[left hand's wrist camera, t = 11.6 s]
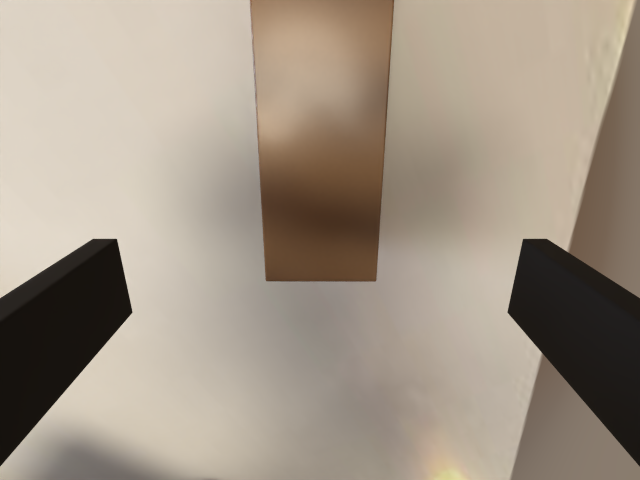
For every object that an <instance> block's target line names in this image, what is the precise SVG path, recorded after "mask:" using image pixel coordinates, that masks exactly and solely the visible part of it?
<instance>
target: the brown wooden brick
mask: <svg viewBox="0 0 640 480" xmlns="http://www.w3.org/2000/svg"><path fill="white" fill-rule="evenodd" d="M393 8H394V0H250V9H251V27H252V45H253V63H254V80H255V98H256V116H257V134H258V151H259V169H260V187H261V204H262V222H263V240H264V258H265V275H266V281H376V275H377V260H378V244H379V228H380V213H381V197H382V181H383V166H384V150H385V134H386V118H387V103H388V87H389V71H390V56H391V40H392V24H393Z"/></svg>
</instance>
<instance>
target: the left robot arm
mask: <svg viewBox="0 0 640 480" xmlns="http://www.w3.org/2000/svg"><path fill="white" fill-rule="evenodd" d="M131 314H132V308H131V303H130V299H129V294H128V289H127V284H126V280H125V275H124V270H123V266H122V261H121V256H120V251H119V247H118V242H117V239H92V240H91V241H89V242H88V243H86V244H84V245H83V246H81V247H80V248H78V249H77V250H75V251H74V252H72V253H70V254H69V255H67V256H66V257H64V258H63V259H61V260H59V261H58V262H56V263H55V264H53V265H52V266H50V267H48V268H47V269H45V270H44V271H42V272H41V273H39V274H37V275H36V276H34V277H33V278H31V279H30V280H28V281H27V282H25V283H23V284H22V285H20V286H19V287H17V288H16V289H14V290H12V291H11V292H9V293H8V294H6V295H5V296H3V297H1V298H0V466H1V465H2V464H3V463H4V461H5V460H6V459H7V458H8V457H9V456H10V454H11V453H12V452H13V451H14V450H15V449H16V447H17V446H18V445H19V444H20V443H21V442H22V440H23V439H24V438H25V437H26V436H27V435H28V433H29V432H30V431H31V430H32V429H33V428H34V426H35V425H36V424H37V423H38V422H39V421H40V419H41V418H42V417H43V416H44V415H45V414H46V413H47V411H48V410H49V409H50V408H51V407H52V406H53V404H54V403H55V402H56V401H57V400H58V399H59V397H60V396H61V395H62V394H63V393H64V392H65V390H66V389H67V388H68V387H69V386H70V385H71V383H72V382H73V381H74V380H75V379H76V378H77V376H78V375H79V374H80V373H81V372H82V371H83V369H84V368H85V367H86V366H87V365H88V364H89V362H90V361H91V360H92V359H93V358H94V357H95V355H96V354H97V353H98V352H99V351H100V350H101V348H102V347H103V346H104V345H105V344H106V343H107V341H108V340H109V339H110V338H111V337H112V336H113V334H114V333H115V332H116V331H117V330H118V329H119V328H120V326H121V325H122V324H123V323H124V322H125V321H126V319H127V318H128V317H129V316H130V315H131ZM508 314H509V315H510V316H511V317H512V318H513V319H514V321H515V322H516V323H517V324H518V325H519V326H520V328H521V329H522V330H523V331H524V332H525V333H526V334H527V336H528V337H529V338H530V339H531V340H532V341H533V343H534V344H535V345H536V346H537V347H538V348H539V350H540V351H541V352H542V353H543V354H544V355H545V357H546V358H547V359H548V360H549V361H550V362H551V364H552V365H553V366H554V367H555V368H556V369H557V371H558V372H559V373H560V374H561V375H562V376H563V378H564V379H565V380H566V381H567V382H568V383H569V385H570V386H571V387H572V388H573V389H574V390H575V391H576V393H577V394H578V395H579V396H580V397H581V399H582V400H583V401H584V402H585V403H586V404H587V405H588V407H589V408H590V409H591V410H592V411H593V412H594V414H595V415H596V416H597V417H598V418H599V419H600V421H601V422H602V423H603V424H604V425H605V426H606V428H607V429H608V430H609V431H610V432H611V433H612V435H613V436H614V437H615V438H616V439H617V440H618V442H619V443H620V444H621V445H622V446H623V447H624V449H625V450H626V451H627V452H628V453H629V454H630V456H631V457H632V458H633V459H634V460H635V461H636V463H637V464H638V465H639V466H640V298H639V297H637V296H635V295H634V294H632V293H631V292H629V291H628V290H626V289H624V288H623V287H621V286H620V285H618V284H617V283H615V282H613V281H612V280H610V279H609V278H607V277H606V276H604V275H602V274H601V273H599V272H598V271H596V270H595V269H593V268H592V267H590V266H588V265H587V264H585V263H584V262H582V261H581V260H579V259H577V258H576V257H574V256H573V255H571V254H570V253H568V252H566V251H565V250H563V249H562V248H560V247H559V246H557V245H556V244H554V243H552V242H551V241H549V240H548V239H523V242H522V247H521V251H520V256H519V261H518V266H517V270H516V275H515V280H514V284H513V289H512V294H511V299H510V303H509V308H508Z"/></svg>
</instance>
